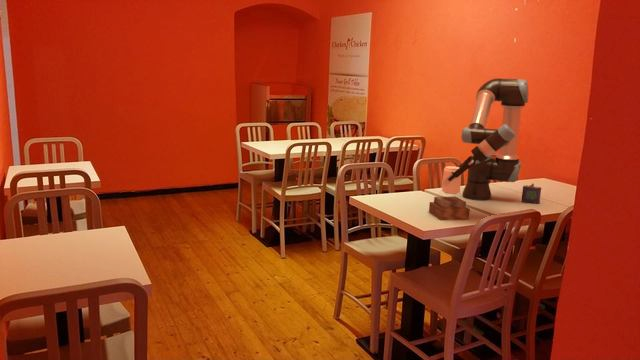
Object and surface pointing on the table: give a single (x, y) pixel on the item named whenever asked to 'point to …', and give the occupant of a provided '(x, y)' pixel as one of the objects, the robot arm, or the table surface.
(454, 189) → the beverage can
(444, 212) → the stepped brown pedestal
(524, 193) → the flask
